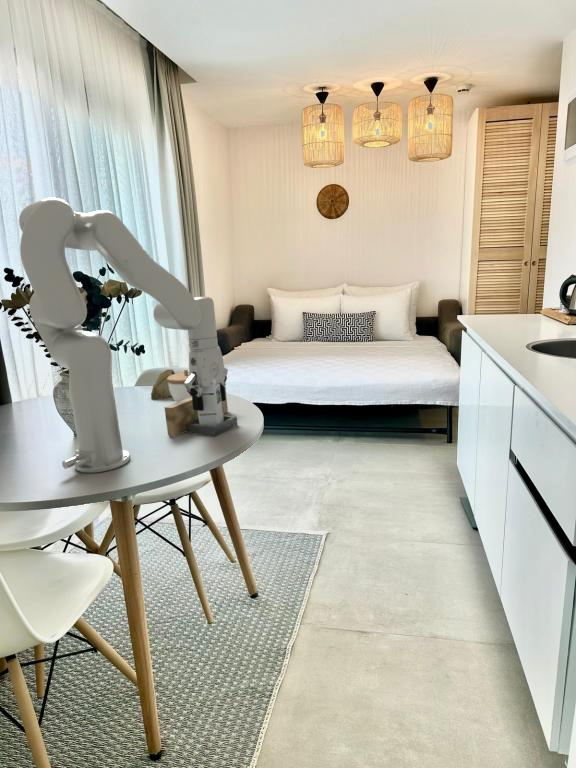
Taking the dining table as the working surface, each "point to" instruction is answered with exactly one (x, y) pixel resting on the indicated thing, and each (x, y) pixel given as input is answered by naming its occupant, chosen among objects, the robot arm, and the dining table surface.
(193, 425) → the tray
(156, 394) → the rock
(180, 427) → the board
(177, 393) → the lidded bowl
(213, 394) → the syrup box
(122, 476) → the dining table surface
